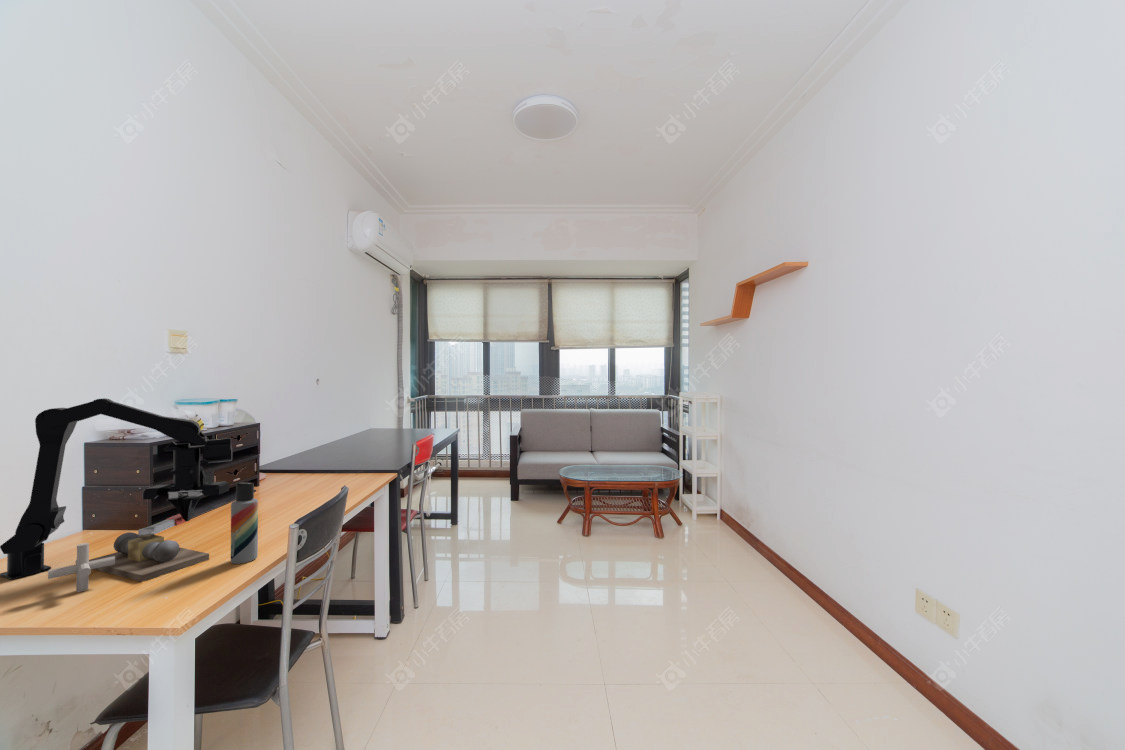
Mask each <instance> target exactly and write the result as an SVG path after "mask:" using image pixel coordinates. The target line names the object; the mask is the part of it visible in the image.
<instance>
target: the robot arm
mask: <svg viewBox="0 0 1125 750" xmlns="http://www.w3.org/2000/svg"><path fill="white" fill-rule="evenodd" d="M99 415H101V416H102V415H103V416H106V417H110V418H112V419H117V420H119V421H120V420H121V421H124V422H127V423H131V424H135V425H138V426H141V427H145V428H149V429H152V430H155V431H157V432H159V433H161V434H162V435H164V436H167V437H169V438H170V439H172V440H175V441H171V442H170V443H169V444H168V446H166V447H165V448H164V449H163V450H164V452H170V451H171V452H172V451H173V470H170V472H169V473H170V476H173V485H172V484H170V483H169V484H158V485H153V486H150V487H147V488H144V490H143V491H142V493H141V494H142V495H141V496H142V498H141V499H142V500H144V501H145V500H155V499H157V498H158V497H159V496H164V495H165V496H166V495H168V498H166V502H169V503H171V505H173V507H174V508H175V509H176V510H177V511H178V514H180V515H181V516H182V518H183V519H184V521H187V522H189V521H191V518H192V515H193V514H194V511H195V508H196V507H197V505H198V502H199V501H200V500H201V498H202V497H211V496H212V497H213V496H219V495H222V494H224V493H227V492H229V491H230V484H229V482H228V481H226V480H225V481H214V482H213V478H214V474H213V473H210V472H206V471H204V469H205V468H204V466H201V449H202V460H203V461H206V462H207V463H208V464H213V463H223V462H232V461H233V447H232V438H231V437H225V438H219V439H218V438H217V439H215V438H214V439H209V437H207V436H206V434H205V433H203V432H202V431H201V425H200V424H199V422H197V421H195V420H192V419H185V418H177V417H171V416H165V415H164V416H163V415H160V414H157V413H153V412H149V411H147V410H143V409H140V408H136V407H134V406H130V405H126V404H124V403H120V402H117V401H114V400H111V398H103V397H102V398H97V399H94V400H92V401H88V402H85V403H81V404H78V405H74V406H70V407H55V408H47V409H45V410H43V411H41V412H39V413H38V414H37V415H36V417H35V420H34V423H35V424H34V425H35V434H36V438H37V439H38V443H39V449H38V455H37V461H36V466H35V472H34V477H33V482H32V490H31V493H30V494H31V495H30V498H29V499H30V500H29V504H28V505H27V507H26V509H25V511H24V513H22V515H21V518H20V520H19V522H18V525H17V527H16V529H15V532H14V535H13V536H11V537H10V538H8V540H5V542H4V543H3V544H1V545H0V550H1V551H2V554H4V555H7V559H6V562H7V563H6V571H4V572H0V577H3V578H5V577H6V579H9V580H14V579H19V578H23V577H27V576H30V575H33V574H38V573H42V572H46V571H48V570H52V566H49V565H46V564H45V541H48V539H49V536H50V535H52V534H53V533H54V532H55V531H57V530H58V529H59V527H60V526H61V525H62V524H63V523H65V519H64V514H65V512H66V511H67V506H64V505H63V506H59V504H58V501H57V497H58V492H59V487H60V482H61V481H60V480H61V474H62V468H63V462H64V457H65V451H66V445H67V443H68V441H69V439H70V438H71V436H72V434H73V433H74V430H75V428H76V426H77V423H78V422H81V421H83V420H86V419H90V418H93V417H95V416H99ZM176 441H177V442H181V443H176ZM191 443H192V444H194V445H191Z"/></svg>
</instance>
